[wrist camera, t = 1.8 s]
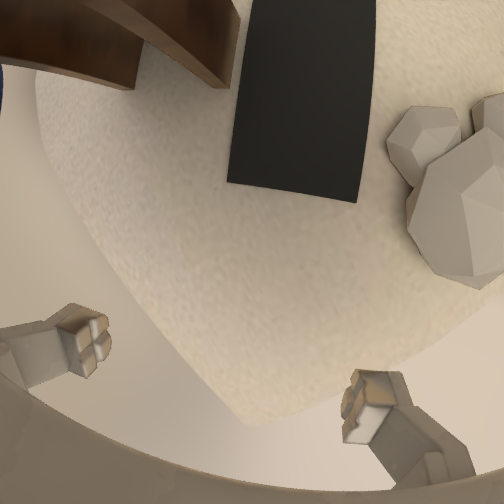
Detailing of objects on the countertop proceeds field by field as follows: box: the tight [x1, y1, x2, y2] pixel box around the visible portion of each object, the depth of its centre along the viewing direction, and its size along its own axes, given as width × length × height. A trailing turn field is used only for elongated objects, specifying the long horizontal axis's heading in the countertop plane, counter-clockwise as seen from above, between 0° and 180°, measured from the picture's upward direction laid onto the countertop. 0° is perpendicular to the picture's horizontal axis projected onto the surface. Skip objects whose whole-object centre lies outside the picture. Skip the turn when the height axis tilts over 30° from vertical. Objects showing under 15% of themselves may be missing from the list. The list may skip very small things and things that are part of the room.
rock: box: [386, 93, 504, 290], centre depth 19 cm, size 18×20×10 cm
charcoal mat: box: [227, 0, 376, 203], centre depth 23 cm, size 22×12×1 cm, turn 173°
